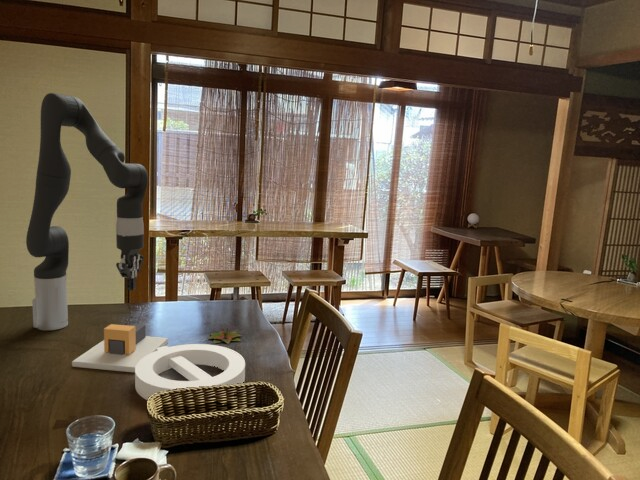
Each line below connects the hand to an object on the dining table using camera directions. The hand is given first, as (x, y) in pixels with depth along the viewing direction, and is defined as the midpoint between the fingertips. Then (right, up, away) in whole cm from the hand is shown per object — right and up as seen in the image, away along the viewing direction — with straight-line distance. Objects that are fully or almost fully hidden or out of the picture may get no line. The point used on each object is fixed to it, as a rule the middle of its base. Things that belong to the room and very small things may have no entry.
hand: (131, 289), depth 146 cm
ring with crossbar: (+22, -23, -16) cm, 36 cm away
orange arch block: (-2, -17, -4) cm, 18 cm away
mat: (-1, -19, -2) cm, 19 cm away
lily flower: (+25, -18, +15) cm, 34 cm away
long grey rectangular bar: (-1, -17, +1) cm, 17 cm away
